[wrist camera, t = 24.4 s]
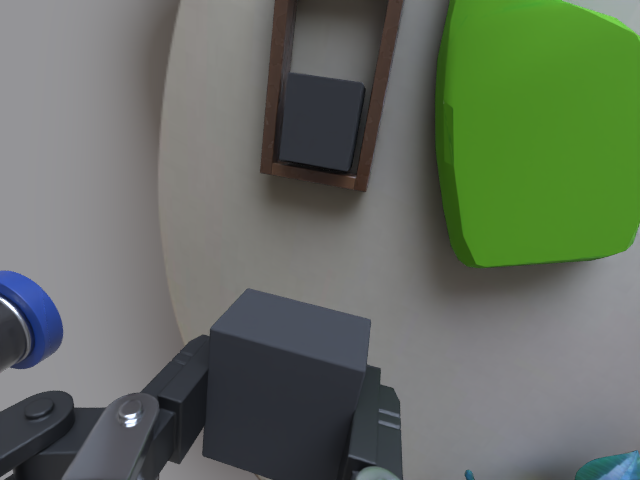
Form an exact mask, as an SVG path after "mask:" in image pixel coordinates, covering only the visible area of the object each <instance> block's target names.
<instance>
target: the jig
mask: <svg viewBox="0 0 640 480" xmlns="http://www.w3.org/2000/svg"><path fill="white" fill-rule="evenodd" d="M403 5H404V0H388V5H387V11H386V16H385V22H384V27H383V33H382V38H381V44H380V49H379V55H378V60H377V65H376V71H375V76H374V82H373V87H372V93H371V98H370V104H369V109H368V115H367V120H366V126H365V131H364V136H363V142H362V147H361V153H360V158H359V164H358V169H357V174H352V173H346V172H340V171H335V170H329V169H323V168H318V167H312V166H306V165H300V164H295V163H289V162H283V161H280V159H279V153H280V144H281V135H282V126H283V116H284V107H285V98H286V89H287V80H288V73H289V72H290V65H291V55H292V46H293V37H294V27H295V18H296V8H297V0H275V6H274V17H273V29H272V40H271V52H270V63H269V75H268V86H267V98H266V109H265V121H264V132H263V143H262V155H261V166H260V173H264V174H269V175H275V176H281V177H286V178H292V179H297V180H302V181H308V182H313V183H319V184H324V185H330V186H335V187H341V188H346V189H352V190H353V189H354V190H357V191H363V192H366V190H367V188H368V183H369V178H370V173H371V168H372V163H373V158H374V153H375V148H376V143H377V138H378V132H379V127H380V122H381V117H382V112H383V107H384V102H385V97H386V92H387V87H388V82H389V77H390V71H391V66H392V61H393V56H394V51H395V46H396V41H397V36H398V31H399V26H400V21H401V16H402V10H403Z"/></svg>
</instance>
